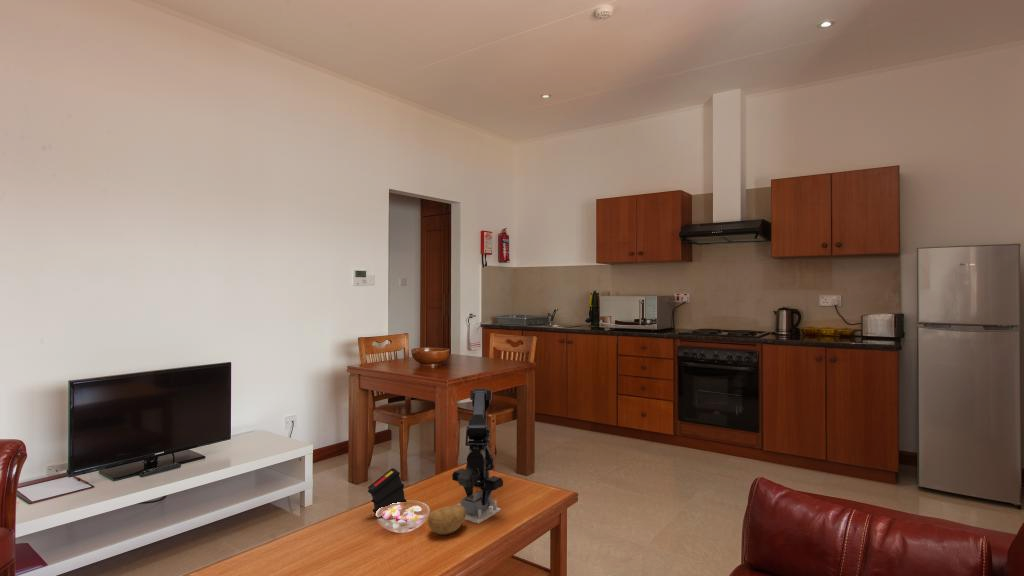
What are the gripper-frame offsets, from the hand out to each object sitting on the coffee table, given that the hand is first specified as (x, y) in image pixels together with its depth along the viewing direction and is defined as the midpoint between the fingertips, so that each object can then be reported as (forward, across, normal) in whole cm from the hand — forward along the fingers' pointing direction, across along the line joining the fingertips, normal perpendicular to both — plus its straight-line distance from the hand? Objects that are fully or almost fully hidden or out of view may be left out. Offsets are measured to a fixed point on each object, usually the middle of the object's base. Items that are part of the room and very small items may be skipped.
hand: (477, 503), depth 186 cm
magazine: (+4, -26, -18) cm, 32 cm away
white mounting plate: (+3, 0, 0) cm, 3 cm away
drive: (+2, 0, 0) cm, 2 cm away
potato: (+4, +1, -17) cm, 18 cm away
